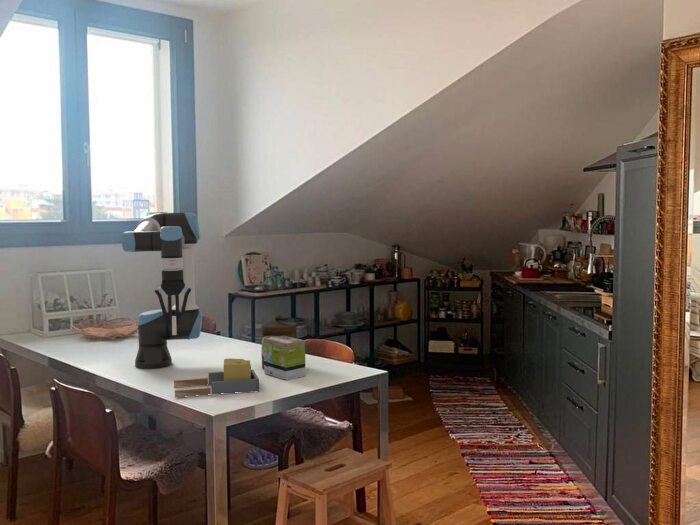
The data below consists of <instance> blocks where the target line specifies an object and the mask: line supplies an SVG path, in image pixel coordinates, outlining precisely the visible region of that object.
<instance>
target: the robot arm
mask: <svg viewBox="0 0 700 525" xmlns="http://www.w3.org/2000/svg"><path fill="white" fill-rule="evenodd" d="M200 240H201V230H200V223H199V220H198V216H197V214H196V213H194V212H184V211H183V212H157V213H153V214H150V215H147V216H146V217H145V216H144V218H142V219H140V220H139V222H138V223H137V225H136V229H134V231H132V230H129V231H124V232H122V234H121V248H122V251H123V252H125V253H126V252H127V253H134V252H135V253H139V252H142V253H143V252H160V254H161V256H160V260H161V262H160V263H161V264H160V266H161V269H162V270H161V283H160V286H159V287H158V288H155V290H154V293H155V294H156V296H157V298H158V300H159V303H160V309H153V310H147V311H144V312H143V311H142V313H140V314H138V316H137V329H138V330H137V333H138V334H137V335H138V337H137V338H138V348H137V349H138V350H137V353H136V355H135V356H136V357H135V360H134V366H135V367H136V368H138V369H160V368H166V367H169V366H171V365H172V364H173V361H172V356H171V353H170V351H169V348H168V341H173V340H174V341H175V340H188V341H189V340H195V339H198V338H200V335H201V331H202V325H203V322H202V320H203V312H202V311H200V307H199V306H198V305H197V304H196V293H195V292H196V291H195V290H196V289H195V288H196V287H195V285H196V284H195V255H194V254H195V253H194V248H195V247H196V246H197V245H198V241H200ZM163 292H164V293H165V294H166V295H167V309H166V306H165V302H164V299H163V296H162V293H163ZM172 296H174V297H173V299H174V304H173V305H172Z"/></svg>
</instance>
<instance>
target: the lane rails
mask: <svg viewBox="0 0 700 525" xmlns="http://www.w3.org/2000/svg"><path fill="white" fill-rule="evenodd" d="M207 384H208V385H209V377H203V378H202V377H201V378H191V379H190V378H188V379H174V380H173V388H174V387H175V388H178V387H177V386H189V387H192V386H191V385H202V386H208V385H207ZM208 394H211V387H200V388H188V389H174V398H175V397H181V398H186V397H185V396H194V397H197V396H196V395H207V396H209V395H208ZM211 395H212V394H211Z"/></svg>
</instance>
